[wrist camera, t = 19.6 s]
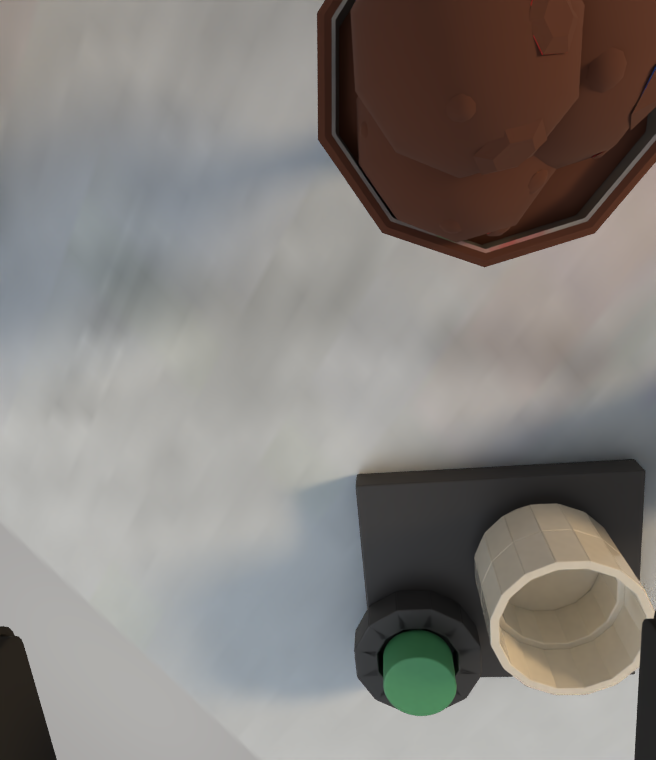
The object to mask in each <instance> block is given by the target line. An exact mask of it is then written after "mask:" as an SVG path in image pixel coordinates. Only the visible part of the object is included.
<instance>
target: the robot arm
mask: <svg viewBox="0 0 656 760" xmlns="http://www.w3.org/2000/svg"><path fill="white" fill-rule="evenodd" d="M0 760H57V759H56V755H55V752H54V749H53V745H52V742H51V738H50V735H49V731H48V728H47V724H46V721H45V717H44V714H43V710H42V707H41V704H40V700H39V696H38V693H37V689H36V686H35V683H34V679H33V675H32V672H31V669H30V665H29V662H28V658H27V655H26V651H25V648H24V644H23V642H22V640H21V639H20V638H19V637H17V636H15V635H14V633H13V631H12V630H11V629H10V628H9V627H4V626H3V627H0ZM635 760H656V611H655V613H654V618H650V619H644V621H643V623H642V631H641V650H640V668H639V686H638V705H637V723H636V742H635Z"/></svg>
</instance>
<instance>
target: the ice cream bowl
mask: <svg viewBox="0 0 656 760" xmlns="http://www.w3.org/2000/svg"><path fill="white" fill-rule="evenodd" d="M317 51H318V140H319V142H320V143H321V144H322V146H323V147H324V149H325V150H326V152H327V153H328V155H329V156H330V158H331V159H332V160H333V162H334V163H335V165H336V166H337V168H338V169H339V171H340V172H341V174H342V175H343V176H344V178H345V179H346V181H347V182H348V184H349V185H350V187H351V188H352V189H353V191H354V192H355V194H356V195H357V197H358V198H359V200H360V201H361V203H362V204H363V205H364V207H365V208H366V210H367V211H368V213H369V214H370V216H371V217H372V219H373V220H374V221H375V223H376V224H377V226H378V227H379V229H380V230H381V232H382V233H385V234H388V235H391V236H394V237H396V238H399V239H402V240H405V241H408V242H411V243H414V244H417V245H420V246H423V247H426V248H429V249H432V250H435V251H438V252H441V253H444V254H447V255H450V256H453V257H456V258H459V259H462V260H465V261H468V262H471V263H474V264H477V265H480V266H483V267H487V266H490V265H493V264H496V263H500V262H503V261H506V260H509V259H513V258H516V257H519V256H522V255H526V254H529V253H532V252H535V251H539V250H542V249H545V248H548V247H552V246H555V245H558V244H561V243H564V242H568V241H571V240H574V239H577V238H581V237H584V236H587V235H590V234H594V233H595V232H596V231H597V230H598V229H599V228H600V226H601V225H602V224H603V223H604V222H605V221H606V219H607V218H608V217H609V216H610V215H611V213H612V212H613V211H614V210H615V209H616V208H617V206H618V205H619V204H620V203H621V202H622V201H623V199H624V198H625V197H626V196H627V195H628V194H629V192H630V191H631V190H632V189H633V188H634V186H635V185H636V184H637V183H638V182H639V181H640V179H641V178H642V177H643V176H644V175H645V174H646V172H647V171H648V170H649V169H650V168H651V167H652V165H653V164H654V163H655V162H656V0H325V1H324V3H323V5H322V6H321V8H320V9H319V11H318V13H317Z"/></svg>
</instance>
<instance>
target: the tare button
mask: <svg viewBox="0 0 656 760" xmlns="http://www.w3.org/2000/svg"><path fill="white" fill-rule="evenodd" d="M383 688H384V692H385V695H386V697H387V699H388V700H389V702H390V703H391V704H392V705H393V706H394V707H396V708H397V709H398V710H400V711H402V712H404V713H407V714H410V715H416V716H427V715H432V714H436V713H438V712H440V711H442V710H444V709H445V708H446V707H447V706H448V705H449V704H450V703H451V702H452V700H453V699H454V697H455V694H456V689H457V685H456V678H455V671H454V664H453V658H452V653H451V650H450V648H449V646H448V645H447V643H446V642H445V641H444V640H443V639H442V638H441V637H439V636H438V635H436V634H434V633H432V632H429V631H425V630H409V631H405V632H402V633H400V634H398V635H396V636H395V637H393V638H392V639H391V640H390V641H389V643H388V644H387V646H386V648H385V650H384V654H383Z"/></svg>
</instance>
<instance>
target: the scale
mask: <svg viewBox="0 0 656 760" xmlns="http://www.w3.org/2000/svg"><path fill="white" fill-rule="evenodd" d="M644 485H645V470H644V469H643V468H642V467H641V466H640V465H639V464H638V463H637V462H636V461H635V460H614V461H596V462H577V463H559V464H540V465H522V466H503V467H485V468H466V469H448V470H429V471H411V472H392V473H374V474H358V475H357V478H356V495H357V505H358V516H359V526H360V537H361V547H362V558H363V568H364V579H365V589H366V600H367V611H366V613H365V615H364V617H363V618H362V620H361V622H360V624H359V625H358V627H357V629H356V632H355V649H354V652H355V661H356V671H357V676H358V679H359V680H360V681H361V682H362V684H363V685H364V686H365V687H366V688H367V690H368V691H369V692H370V693H371V695H372V696H373V697H374V698H375V699H377V700H378V701H380V702H382V703H385V704H387V705H389V706H392V707H394V706H393V705H392V704H391V703H390V702H389V700H388V699H387V697H386V695H385V692H384V688H383V654H384V650H385V648H386V646H387V644H388V643H389V641H390V640H391V639H392V638H393V637H395V636H396V635H398V634H400V633H402V632H405V631H409V630H425V631H429V632H432V633H434V634H436V635H438V636H439V637H441V638H442V639H443V640H444V641H445V642H446V643H447V645H448V646H449V648H450V650H451V653H452V658H453V664H454V671H455V678H456V685H457V689H456V694H455V697H454V699H453V700H452V702H451V703H450V704H449V705H448V706H447V707H449V706H451V705H453V704H455V703H457V702H459V701H462V700H464V699H465V698H467V696H468V695H469V693H470V692H471V690H472V689H473V687H474V686H475V684H476V683H477V681H478V680H479V678H480V677H512V675H511V674H510V673H508V672H507V671H506V670H504V668H503V667H502V665H501V663H500V662H499V660H498V658H497V656H496V654H495V652H494V651H493V649H492V647H491V644H490V640H489V636H488V631H487V627H486V623H485V619H484V615H483V610H482V606H481V601H480V597H479V593H478V589H477V585H476V580H475V566H474V557H475V553H476V551H477V549H478V546H479V544H480V542H481V540H482V537H483V535H484V533H485V532H486V531H487V530H488V529H489V528H490V527H491V526H492V525H493V524H494V523H496V522H497V521H498V520H499V519H500V518H501V517H502V516H504V515H506V514H508V513H509V512H511V511H513V510H515V509H518V508H521V507H524V506H528V505H532V504H554V503H557V504H561V505H564V506H567V507H570V508H574V509H577V510H580V511H583V512H585V513H587V514H588V515H589V516H590V517H592V518H593V519H594V520H595V521H596V522H598V523H599V524H600V525H601V526H602V527H604V529H605V530H606V531H607V533H608V535H609V536H610V538H611V539H612V541H613V542H614V544H615V545H616V547H617V548H618V550H619V551H620V553H621V554H622V556H623V557H624V559H625V560H626V562H627V563H628V565H629V566H630V568H631V569H632V571H633V573H634V574H635V576H636V577H637V579H638V580H639V581H640V562H641V543H642V523H643V504H644ZM631 674H635V671H634V672H632V673H631ZM447 707H446V708H447ZM394 708H396V707H394ZM396 709H397V708H396Z"/></svg>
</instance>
